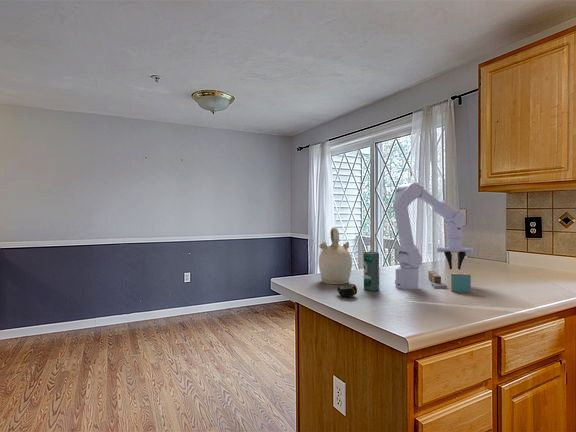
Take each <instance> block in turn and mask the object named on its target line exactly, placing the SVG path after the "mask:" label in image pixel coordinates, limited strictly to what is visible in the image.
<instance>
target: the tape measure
mask: <svg viewBox="0 0 576 432" xmlns="http://www.w3.org/2000/svg"><path fill="white" fill-rule="evenodd" d="M337 292H338V294H339V295H340V297H343V298H350V297H353V296H355V295H357V294H358V289H357V285H356V284H354V283H346V284H342V285H340V286H337Z"/></svg>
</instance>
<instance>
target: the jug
mask: <svg viewBox="0 0 576 432" xmlns="http://www.w3.org/2000/svg"><path fill="white" fill-rule="evenodd" d="M329 235H330V241H331V244H330V245H329V246H328V245H327V242H326V241H323V242H321V243H320V245H319V246H318V247H319V249H321V251H320V254H319V256H318V268H319V272H320V277H321V282H322V283H324V284H327V285H346V284H349V282H350V277H351V273H352V267H353V257H352V254H351V253H350V251H349V248H350V242H349V241H346V242H345V243H343V245H341V244H339V242H340V233H339V230H338V228H337V227H335V226H334V227H331V229H330V234H329Z"/></svg>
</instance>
